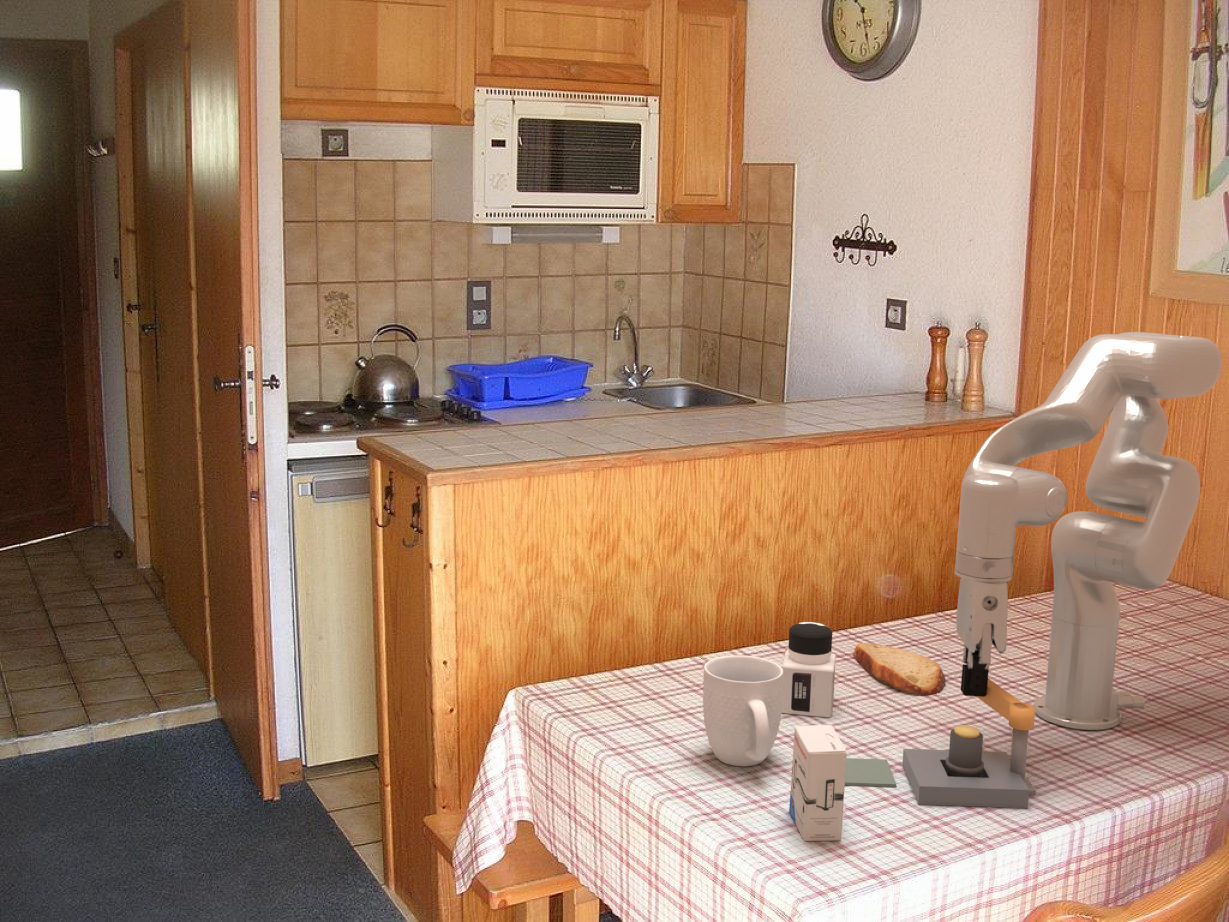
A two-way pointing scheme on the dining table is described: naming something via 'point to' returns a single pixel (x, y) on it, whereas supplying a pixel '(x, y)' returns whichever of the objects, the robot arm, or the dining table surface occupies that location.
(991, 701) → the clip
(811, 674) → the container
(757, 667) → the mug
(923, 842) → the dining table surface
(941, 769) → the socket
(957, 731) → the plug
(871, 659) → the bread slice
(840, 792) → the ink box
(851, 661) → the dining table surface
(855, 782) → the pad
